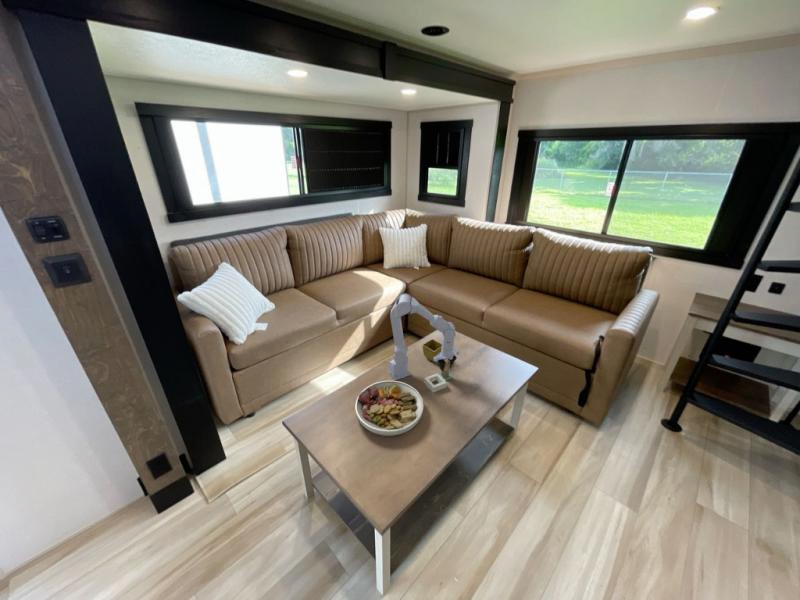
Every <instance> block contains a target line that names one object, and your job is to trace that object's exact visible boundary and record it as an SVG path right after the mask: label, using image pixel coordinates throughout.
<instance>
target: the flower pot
mask: <svg viewBox="0 0 800 600" xmlns="http://www.w3.org/2000/svg"><path fill="white" fill-rule="evenodd" d="M441 349H442V342H439V341H437V340H435V339H434V338H431V339H429V340H428V341H427V342H424V343H423V344H422V352H423V356H424V357H425V358H426V359H428V360H429V361H431V362H435V361H434V357H435V356H437V355H438V354H439V353H441Z"/></svg>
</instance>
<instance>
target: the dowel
mask: <svg viewBox="0 0 800 600" xmlns="http://www.w3.org/2000/svg"><path fill="white" fill-rule="evenodd" d="M444 361H445V362H446V363H445V366H444V371H442V370H440V371H441V372H440V373H441V375H442V376H443V377H448V376H449V374H450V369H451V368H450V361H449V360H448V359H444Z"/></svg>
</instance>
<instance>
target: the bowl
mask: <svg viewBox="0 0 800 600" xmlns="http://www.w3.org/2000/svg"><path fill="white" fill-rule="evenodd" d="M354 405H355V406H354V407H355V409H354V410H355V414H356V417H357V419H358V421H359V423H360V424H361V425H362V426H363V428H365V429H366V430H368V431H369V432H371V433H373V434H376V435H380V436H385V437H386V436H388V437H389V436H397V435H399V436H400V435H401V434H404V433H407V432H408V431H411V430H412V429H413V428H414V427H415V426H416V425H417V424H418V423H419V421H420V420H421V418H422V416H423V413H424V399H423V397H422V395H421V394H420V392H419V391H418V390H417V389H416V388H414V387H413V386H411V385H410V384H407V383H406V382H402V381H398V380H382V381H378V382H374V383H371V384H370V385H368V386H367V387H366V388H364V389H363V390H362V391H361V392H360V393H359V394H358V396H357V398H356V400H355V404H354Z"/></svg>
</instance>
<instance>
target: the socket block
mask: <svg viewBox="0 0 800 600" xmlns="http://www.w3.org/2000/svg"><path fill="white" fill-rule="evenodd" d="M436 381H437V384H434V383H432V382H436ZM423 383H424V384H425V385H426V387H427V388H428V389H429V390H430V391H431V392H432V393H435V392H439V391H441V390H443V389H446V388H447V385H448V382H447V381H445V380H444V379H443V378H442V377H441V376H440V375H439V373H438V372H437V373H434V374H432V375H429V376H426V377H424V381H423Z"/></svg>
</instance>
